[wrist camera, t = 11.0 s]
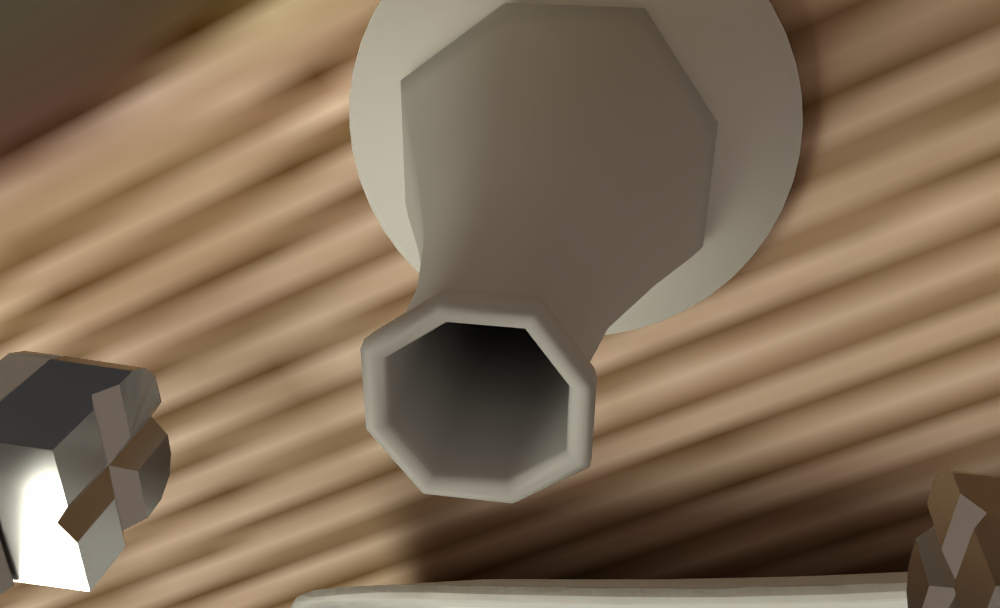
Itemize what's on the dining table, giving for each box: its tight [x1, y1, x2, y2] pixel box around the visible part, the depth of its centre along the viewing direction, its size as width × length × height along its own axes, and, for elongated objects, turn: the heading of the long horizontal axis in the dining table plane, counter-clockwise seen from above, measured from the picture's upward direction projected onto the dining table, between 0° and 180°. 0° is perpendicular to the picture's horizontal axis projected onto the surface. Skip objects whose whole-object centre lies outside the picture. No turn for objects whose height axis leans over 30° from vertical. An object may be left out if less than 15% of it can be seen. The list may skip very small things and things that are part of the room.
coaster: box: [350, 0, 803, 335], centre depth 21 cm, size 10×10×1 cm
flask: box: [361, 3, 718, 504], centre depth 16 cm, size 7×7×10 cm
